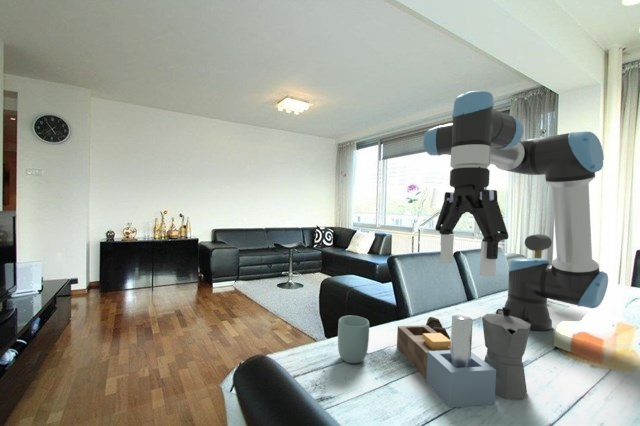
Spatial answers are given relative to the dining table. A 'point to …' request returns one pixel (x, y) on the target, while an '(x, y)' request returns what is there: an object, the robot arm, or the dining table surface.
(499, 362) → the coffeepot
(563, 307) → the dining table surface
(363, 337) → the cup
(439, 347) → the release button
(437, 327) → the bolt
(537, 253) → the rubber mallet
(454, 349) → the brushed steel rod
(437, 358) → the block
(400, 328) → the socket block
